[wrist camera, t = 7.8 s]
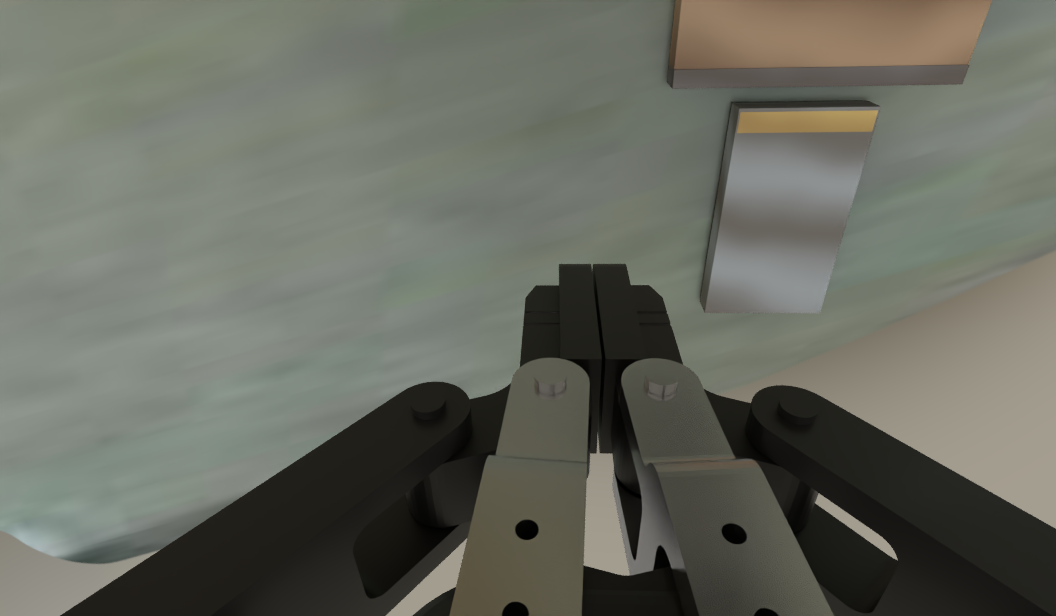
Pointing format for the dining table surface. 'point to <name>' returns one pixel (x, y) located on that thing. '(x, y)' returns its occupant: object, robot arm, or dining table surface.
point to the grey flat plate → (784, 203)
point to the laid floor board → (822, 42)
